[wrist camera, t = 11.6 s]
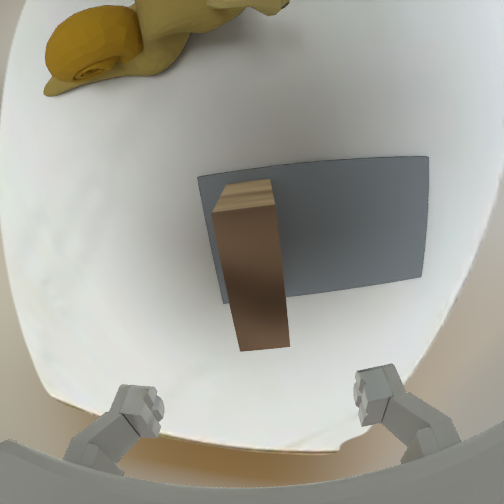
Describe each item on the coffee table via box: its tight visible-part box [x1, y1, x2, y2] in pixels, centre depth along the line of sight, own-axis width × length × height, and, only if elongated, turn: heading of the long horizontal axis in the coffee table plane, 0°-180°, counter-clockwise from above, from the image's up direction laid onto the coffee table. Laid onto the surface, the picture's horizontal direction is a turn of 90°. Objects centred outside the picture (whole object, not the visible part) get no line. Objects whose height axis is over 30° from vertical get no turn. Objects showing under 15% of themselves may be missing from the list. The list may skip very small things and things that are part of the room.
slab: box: [211, 179, 290, 351], centre depth 22 cm, size 10×4×8 cm, turn 8°
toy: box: [43, 0, 290, 97], centre depth 14 cm, size 8×21×10 cm, turn 104°
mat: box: [197, 156, 429, 304], centre depth 25 cm, size 12×20×1 cm, turn 98°
